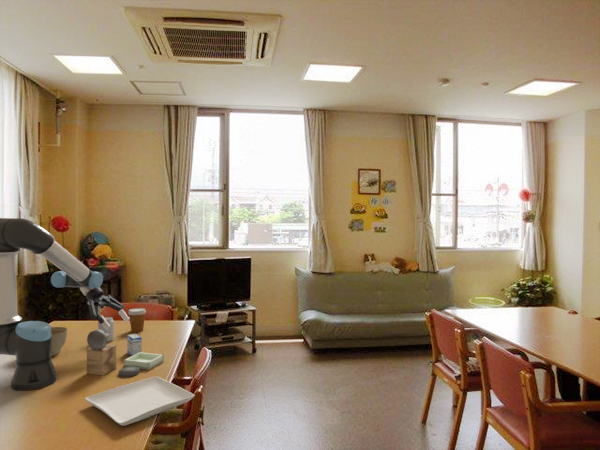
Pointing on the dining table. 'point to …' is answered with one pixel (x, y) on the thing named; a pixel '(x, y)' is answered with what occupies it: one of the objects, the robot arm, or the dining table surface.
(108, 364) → the pulley stand
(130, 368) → the dark grey round puck
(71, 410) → the dining table surface
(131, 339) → the medicine box
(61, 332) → the planter bowl
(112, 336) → the can
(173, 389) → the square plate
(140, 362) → the tray
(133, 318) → the disposable coffee cup
